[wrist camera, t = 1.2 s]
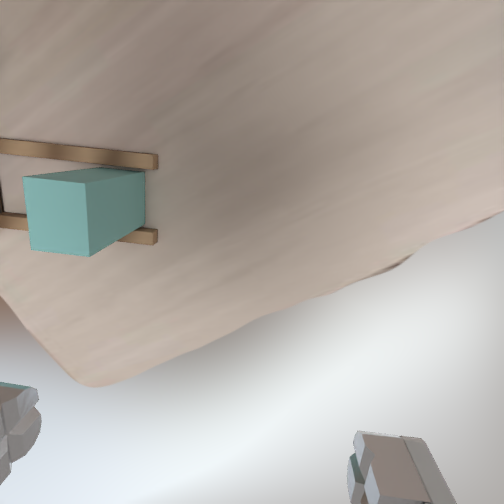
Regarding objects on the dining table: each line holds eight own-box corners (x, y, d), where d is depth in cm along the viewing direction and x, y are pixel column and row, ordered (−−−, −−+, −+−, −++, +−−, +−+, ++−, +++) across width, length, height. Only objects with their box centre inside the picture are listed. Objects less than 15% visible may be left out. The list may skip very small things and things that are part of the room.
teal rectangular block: (144, 171, 37) (85, 183, 25) (144, 224, 38) (89, 256, 27) (101, 167, 37) (22, 176, 25) (103, 219, 39) (31, 249, 27)
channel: (158, 154, 36) (135, 156, 30) (157, 241, 39) (136, 258, 33) (-26, 135, 37) (-81, 133, 31) (-12, 222, 40) (-60, 234, 34)
